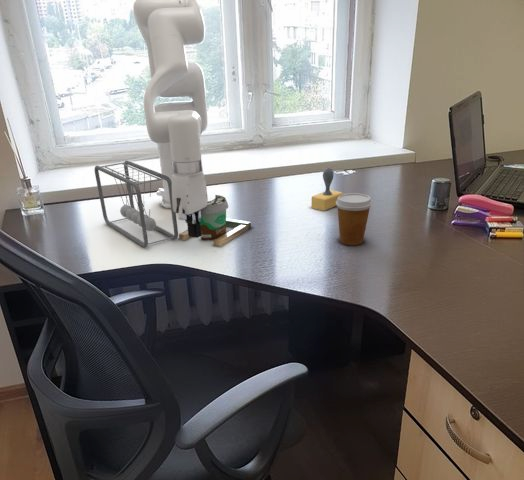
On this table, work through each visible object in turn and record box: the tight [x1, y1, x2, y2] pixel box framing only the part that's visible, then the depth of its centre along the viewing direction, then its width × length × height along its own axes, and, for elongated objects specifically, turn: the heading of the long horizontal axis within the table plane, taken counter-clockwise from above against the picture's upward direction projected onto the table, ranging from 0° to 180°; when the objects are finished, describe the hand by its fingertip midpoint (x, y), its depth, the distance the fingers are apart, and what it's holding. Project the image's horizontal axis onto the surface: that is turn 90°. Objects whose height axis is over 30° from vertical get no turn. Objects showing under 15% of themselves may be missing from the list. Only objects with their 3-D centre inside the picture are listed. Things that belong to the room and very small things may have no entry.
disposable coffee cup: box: [336, 192, 373, 246], centre depth 142 cm, size 10×10×12 cm
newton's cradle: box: [94, 160, 179, 248], centre depth 153 cm, size 30×10×18 cm, turn 36°
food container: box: [200, 194, 229, 241], centre depth 150 cm, size 12×6×10 cm, turn 157°
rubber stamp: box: [311, 167, 344, 212], centre depth 170 cm, size 10×6×12 cm, turn 137°
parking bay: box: [178, 217, 252, 248], centre depth 154 cm, size 14×17×2 cm
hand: (195, 236), depth 145 cm, fingers closed
